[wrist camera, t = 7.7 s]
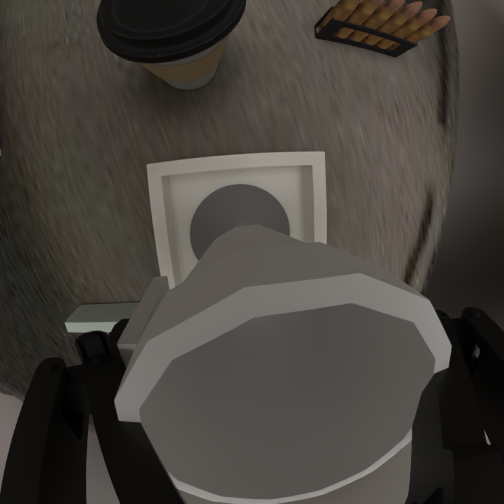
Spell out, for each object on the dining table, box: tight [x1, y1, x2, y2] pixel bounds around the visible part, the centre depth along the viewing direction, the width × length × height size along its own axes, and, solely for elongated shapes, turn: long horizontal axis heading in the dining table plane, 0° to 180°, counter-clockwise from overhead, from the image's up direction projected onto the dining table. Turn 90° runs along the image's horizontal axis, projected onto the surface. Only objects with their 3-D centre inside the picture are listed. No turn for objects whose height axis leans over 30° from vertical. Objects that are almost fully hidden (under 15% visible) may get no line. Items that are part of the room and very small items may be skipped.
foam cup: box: [114, 225, 452, 504], centre depth 12 cm, size 10×9×13 cm
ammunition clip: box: [315, 0, 450, 57], centre depth 19 cm, size 11×2×12 cm, turn 89°
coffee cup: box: [97, 0, 246, 90], centre depth 17 cm, size 9×9×15 cm
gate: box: [65, 302, 139, 332], centre depth 29 cm, size 1×20×4 cm, turn 94°
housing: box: [147, 152, 327, 289], centre depth 27 cm, size 14×15×4 cm
